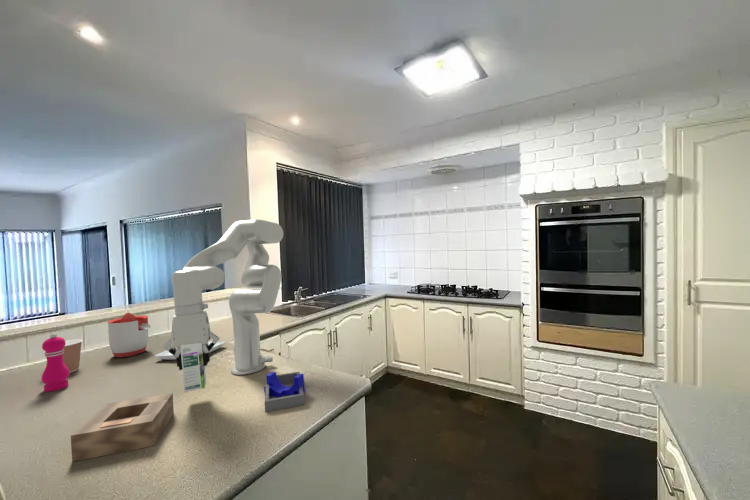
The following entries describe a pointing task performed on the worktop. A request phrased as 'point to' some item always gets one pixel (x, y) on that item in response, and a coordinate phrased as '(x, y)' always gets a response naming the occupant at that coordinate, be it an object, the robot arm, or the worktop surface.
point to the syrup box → (193, 366)
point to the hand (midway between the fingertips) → (194, 365)
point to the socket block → (122, 427)
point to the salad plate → (168, 355)
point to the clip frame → (287, 400)
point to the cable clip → (279, 389)
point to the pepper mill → (54, 364)
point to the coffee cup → (72, 354)
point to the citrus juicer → (128, 335)
